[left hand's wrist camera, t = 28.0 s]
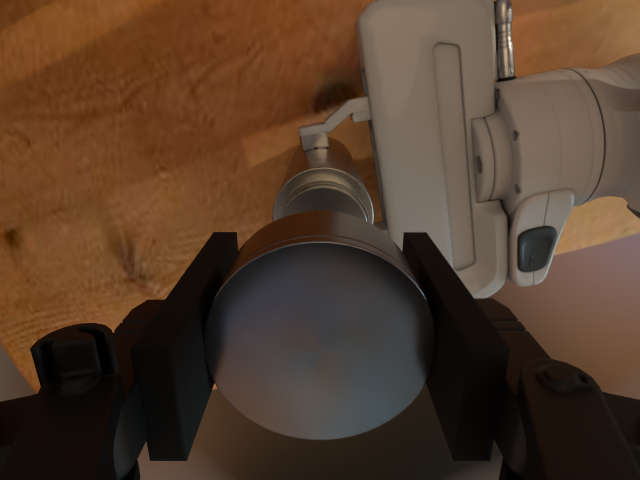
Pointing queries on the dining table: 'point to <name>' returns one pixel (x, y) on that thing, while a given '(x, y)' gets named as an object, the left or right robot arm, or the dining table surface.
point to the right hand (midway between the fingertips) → (309, 187)
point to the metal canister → (320, 328)
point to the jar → (323, 184)
